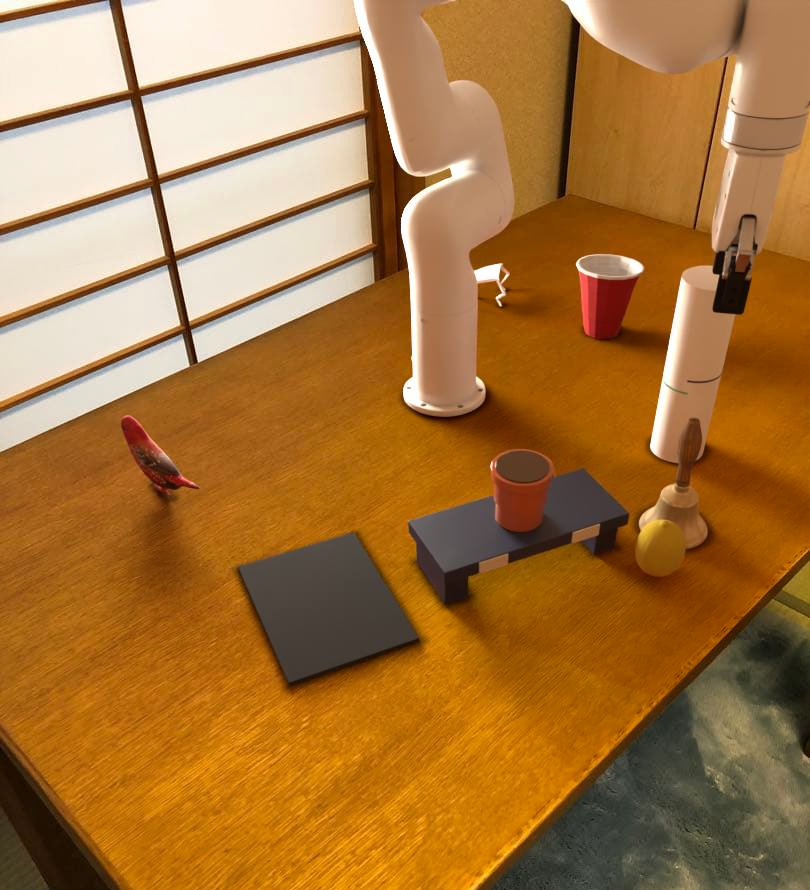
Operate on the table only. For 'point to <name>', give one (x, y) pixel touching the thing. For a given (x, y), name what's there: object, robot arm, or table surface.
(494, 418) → the table surface
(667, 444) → the cylindrical container
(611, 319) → the plastic cup
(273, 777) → the table surface
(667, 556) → the lemon
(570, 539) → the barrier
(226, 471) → the table surface
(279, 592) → the mat
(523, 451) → the pot
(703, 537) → the hand bell
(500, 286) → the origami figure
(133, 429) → the decorative bird figurine
